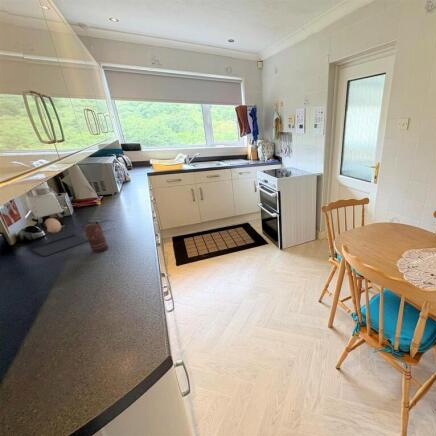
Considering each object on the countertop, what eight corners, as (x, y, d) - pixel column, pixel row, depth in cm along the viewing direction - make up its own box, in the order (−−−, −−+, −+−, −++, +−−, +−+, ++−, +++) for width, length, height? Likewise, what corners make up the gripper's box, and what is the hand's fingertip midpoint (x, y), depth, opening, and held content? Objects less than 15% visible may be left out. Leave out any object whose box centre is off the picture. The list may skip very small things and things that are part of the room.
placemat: (44, 256, 107) (44, 256, 107) (29, 249, 113) (29, 248, 113) (89, 240, 122) (89, 240, 122) (74, 235, 129) (73, 234, 128)
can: (110, 245, 117) (102, 220, 112) (105, 251, 111) (96, 225, 106) (96, 247, 115) (86, 221, 110) (90, 253, 110) (80, 226, 104)
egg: (61, 229, 119) (56, 215, 116) (64, 231, 116) (59, 217, 113) (46, 233, 115) (40, 218, 112) (49, 235, 111) (42, 221, 109)
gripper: (58, 187, 116) (70, 220, 123) (8, 195, 102) (25, 232, 108) (65, 188, 113) (78, 222, 120) (15, 197, 99) (33, 235, 105)
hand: (53, 227), depth 114 cm, fingers closed on egg, 5 cm apart
